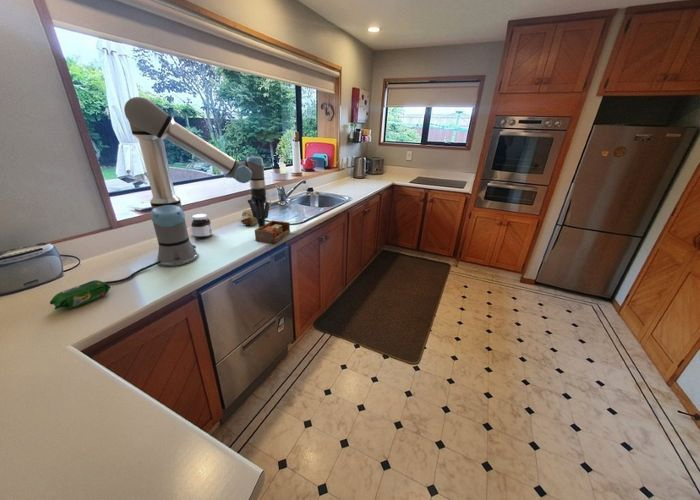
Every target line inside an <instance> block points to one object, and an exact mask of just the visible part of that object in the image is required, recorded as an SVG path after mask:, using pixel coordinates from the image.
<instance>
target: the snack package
mask: <svg viewBox="0 0 700 500" xmlns="http://www.w3.org/2000/svg"><path fill="white" fill-rule="evenodd" d="M105 282H106V281H102V280H99V279H95V280H89V281H87V282H85V283H83V284H80V285H76V286H74V287H71V288H68V289H65V290H62V291H60V292H58V293H56V294H55V295H54V296H53V297H52V298H51V299H50V301H49V304H50V305H54V310H58V309H61V308H64V309H72V308H77V307H79V306H82V305H85V304H87V303H90V302H92V301H95V300H97V299H99V298H102V297H104V296H106V295H107V294H108V292H109V291H110V290H111V288H112V287H111V285H110V284H107V283H105Z"/></svg>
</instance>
